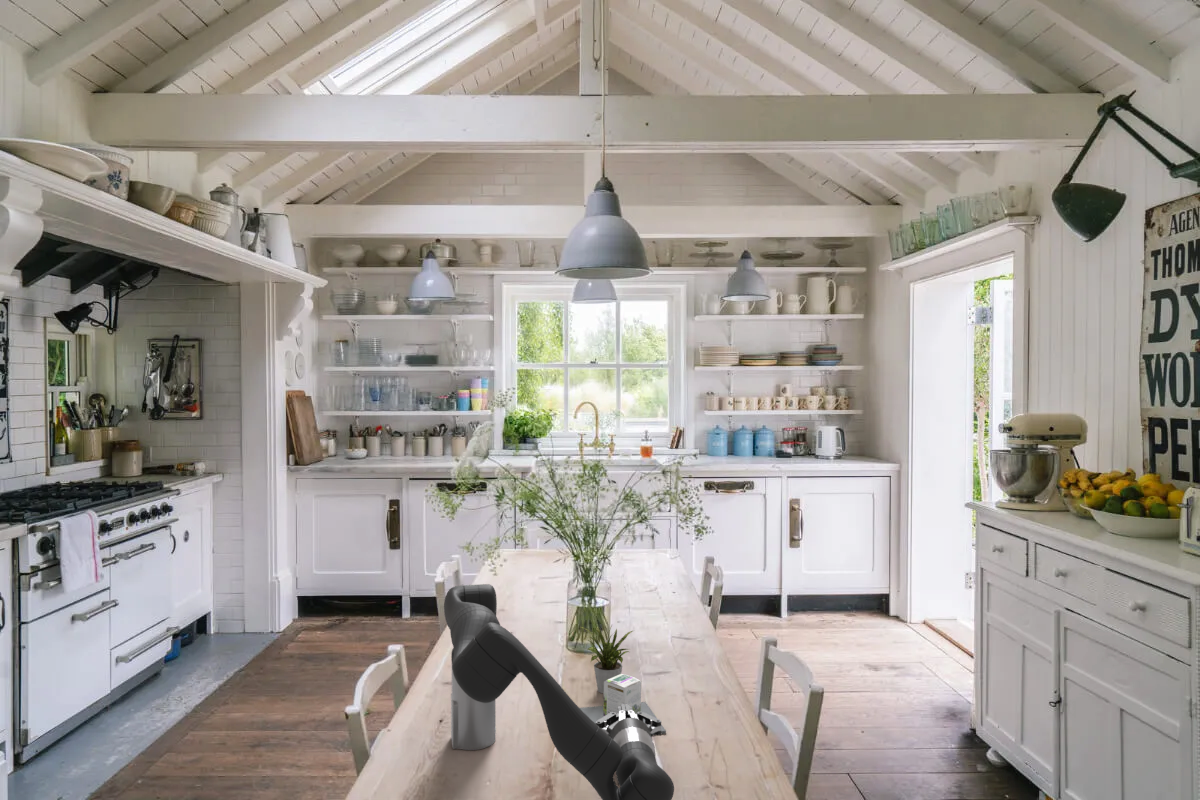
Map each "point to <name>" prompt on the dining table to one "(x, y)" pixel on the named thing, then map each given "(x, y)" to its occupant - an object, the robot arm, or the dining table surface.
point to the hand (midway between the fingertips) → (624, 708)
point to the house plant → (607, 658)
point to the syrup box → (621, 693)
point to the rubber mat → (597, 713)
